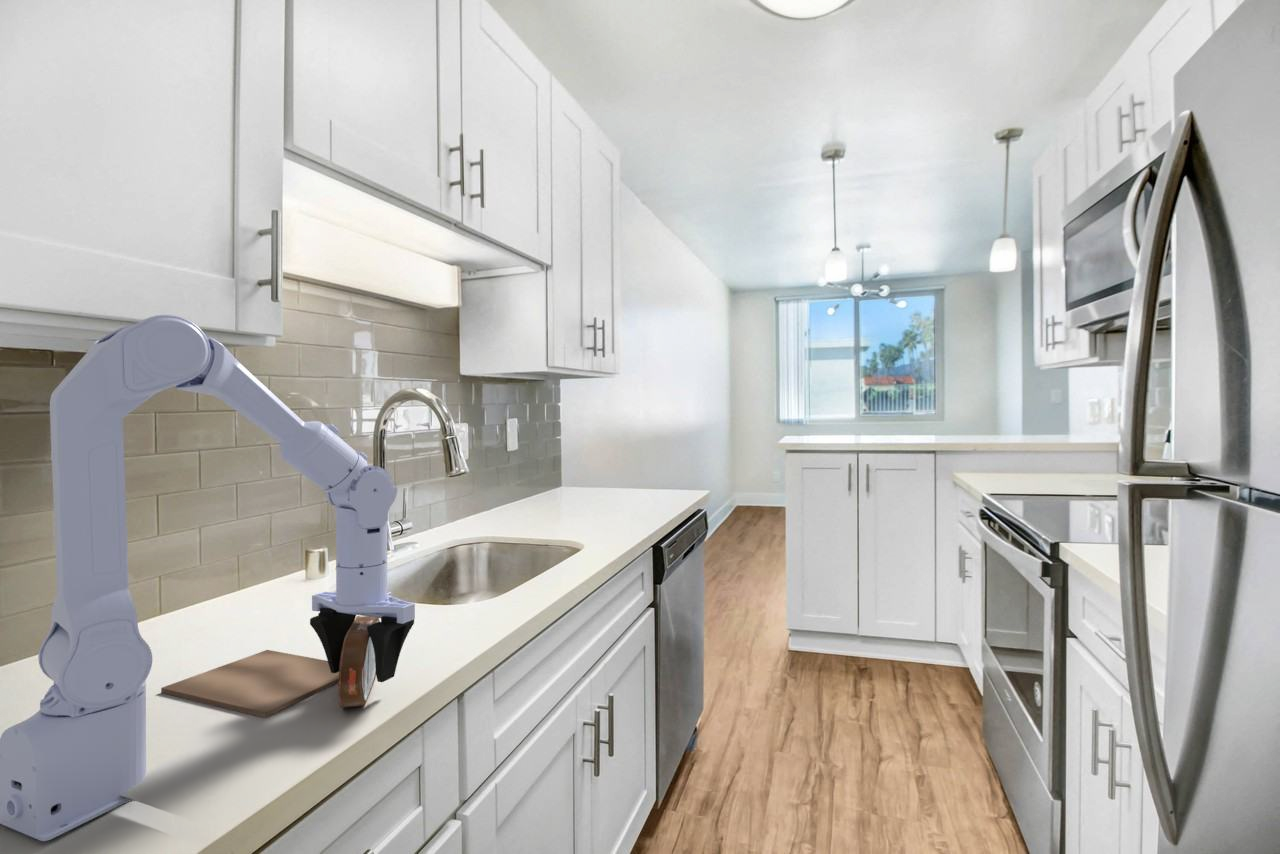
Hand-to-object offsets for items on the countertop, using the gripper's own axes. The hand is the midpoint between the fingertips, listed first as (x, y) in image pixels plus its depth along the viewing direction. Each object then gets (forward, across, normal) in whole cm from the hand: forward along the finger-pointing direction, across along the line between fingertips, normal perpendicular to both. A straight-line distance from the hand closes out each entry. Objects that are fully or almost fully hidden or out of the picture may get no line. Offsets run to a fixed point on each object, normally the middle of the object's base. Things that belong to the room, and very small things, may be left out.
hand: (362, 674), depth 76 cm
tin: (+2, 0, 0) cm, 2 cm away
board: (+2, +14, +2) cm, 14 cm away
